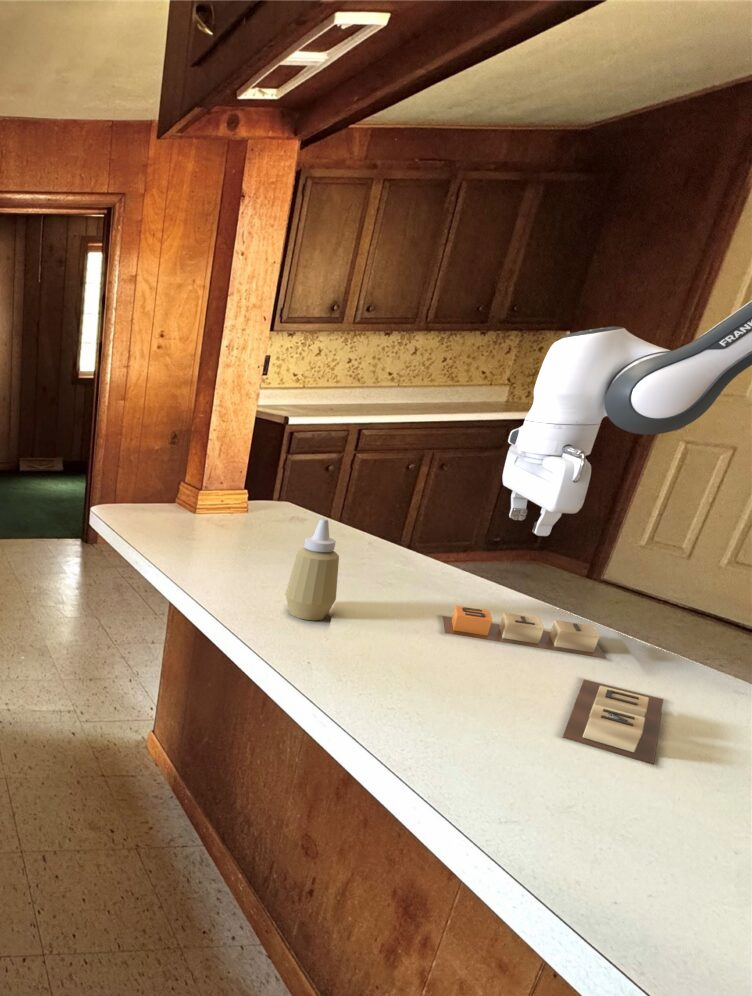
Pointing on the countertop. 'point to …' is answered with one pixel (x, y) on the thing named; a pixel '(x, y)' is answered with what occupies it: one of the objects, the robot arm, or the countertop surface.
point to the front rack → (615, 721)
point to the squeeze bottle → (314, 576)
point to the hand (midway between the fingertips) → (527, 526)
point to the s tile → (471, 620)
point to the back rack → (539, 634)
